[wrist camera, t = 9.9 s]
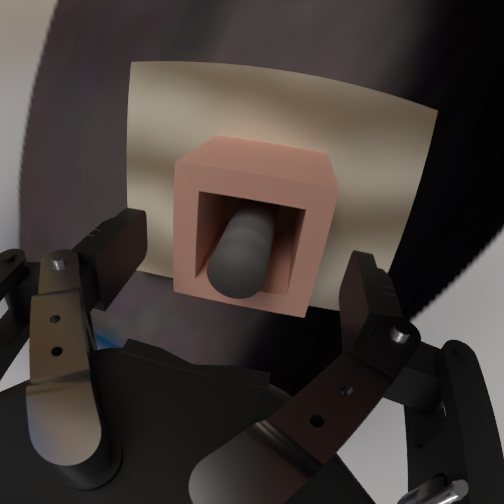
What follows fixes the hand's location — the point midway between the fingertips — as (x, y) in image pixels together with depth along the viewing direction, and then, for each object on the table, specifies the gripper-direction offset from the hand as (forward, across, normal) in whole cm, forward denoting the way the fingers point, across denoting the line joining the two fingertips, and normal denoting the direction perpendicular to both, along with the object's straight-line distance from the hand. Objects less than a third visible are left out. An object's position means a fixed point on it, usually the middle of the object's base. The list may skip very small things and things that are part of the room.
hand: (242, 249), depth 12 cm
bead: (+7, 0, 0) cm, 7 cm away
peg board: (+8, 0, 0) cm, 8 cm away
